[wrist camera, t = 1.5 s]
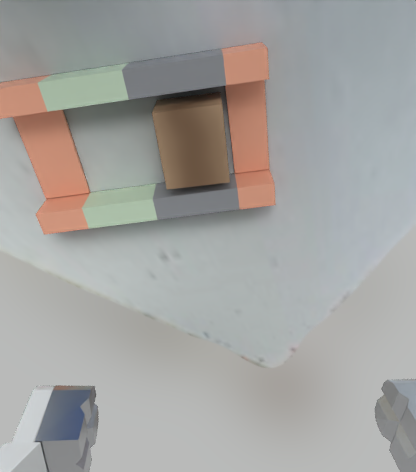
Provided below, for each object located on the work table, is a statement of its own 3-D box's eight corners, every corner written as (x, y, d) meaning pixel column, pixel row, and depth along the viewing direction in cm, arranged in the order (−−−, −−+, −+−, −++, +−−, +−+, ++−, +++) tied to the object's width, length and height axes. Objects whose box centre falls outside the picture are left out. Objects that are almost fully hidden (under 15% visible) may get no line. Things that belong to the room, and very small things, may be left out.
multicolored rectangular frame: (261, 42, 29) (267, 47, 26) (270, 189, 35) (275, 204, 32) (1, 82, 30) (-18, 91, 27) (55, 217, 36) (44, 234, 34)
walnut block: (219, 91, 31) (222, 104, 27) (227, 162, 34) (229, 182, 30) (157, 99, 31) (151, 113, 28) (170, 169, 34) (166, 189, 31)
